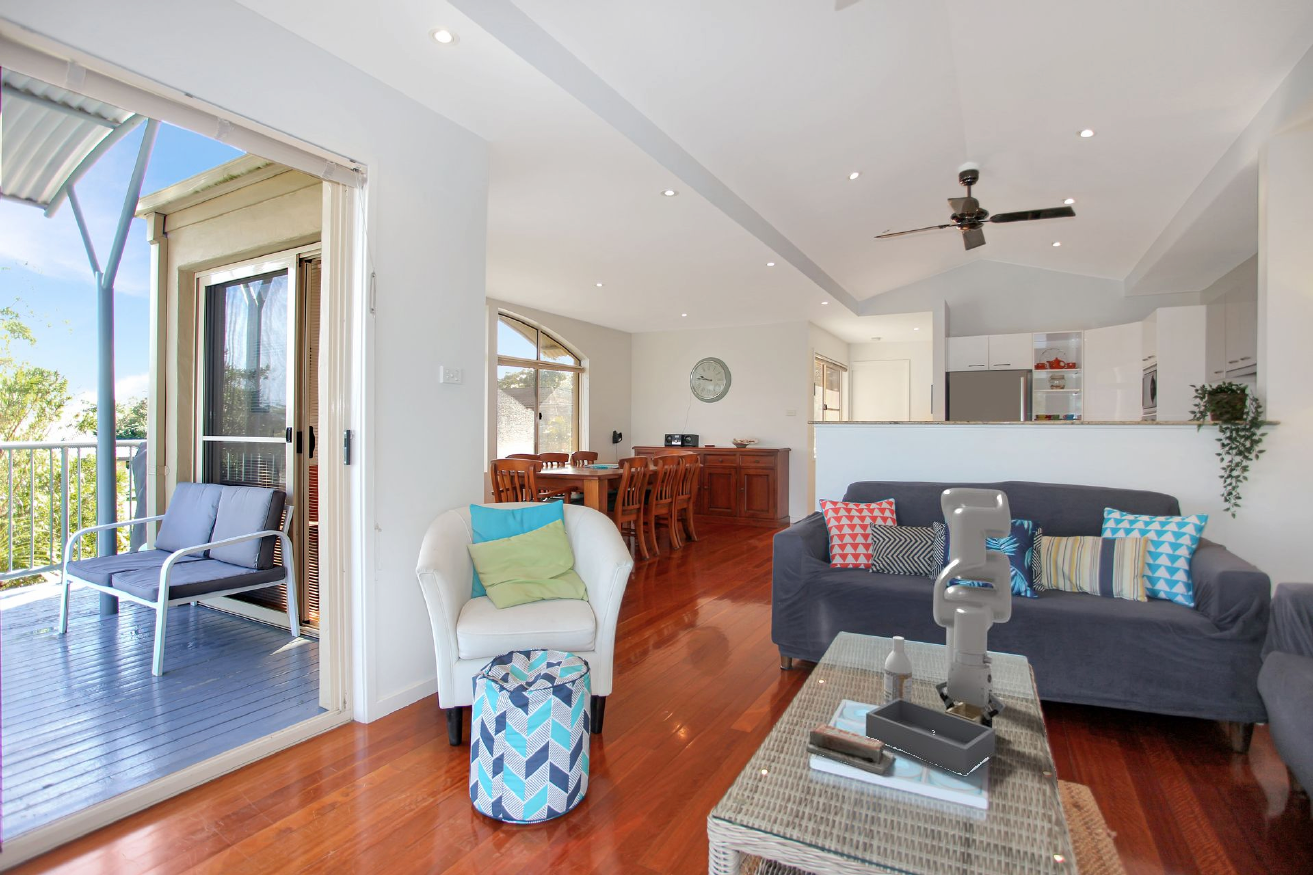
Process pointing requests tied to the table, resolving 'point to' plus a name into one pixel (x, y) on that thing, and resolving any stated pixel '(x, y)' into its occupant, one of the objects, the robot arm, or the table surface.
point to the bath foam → (897, 673)
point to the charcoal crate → (931, 735)
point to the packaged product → (849, 748)
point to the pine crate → (967, 712)
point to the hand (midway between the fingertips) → (968, 726)
